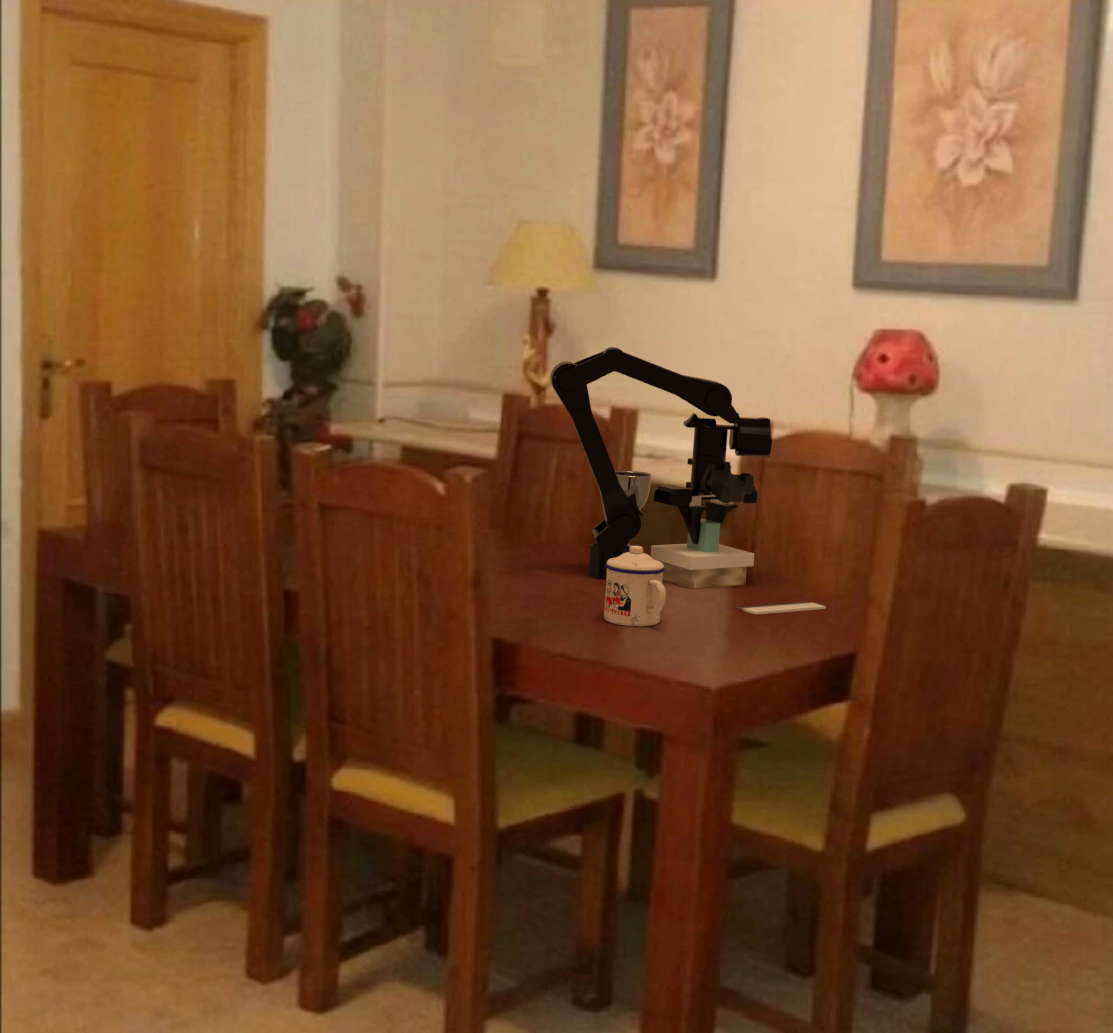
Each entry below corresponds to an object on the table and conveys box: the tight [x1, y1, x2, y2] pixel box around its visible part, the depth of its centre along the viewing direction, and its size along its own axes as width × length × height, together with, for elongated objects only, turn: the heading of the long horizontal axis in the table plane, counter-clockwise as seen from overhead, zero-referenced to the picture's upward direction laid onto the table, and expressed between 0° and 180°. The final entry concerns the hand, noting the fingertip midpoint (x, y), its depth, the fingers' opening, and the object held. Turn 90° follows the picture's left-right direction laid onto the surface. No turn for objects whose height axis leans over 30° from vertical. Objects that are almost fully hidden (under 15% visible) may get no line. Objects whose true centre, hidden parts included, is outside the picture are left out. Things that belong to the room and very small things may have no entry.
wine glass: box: [615, 470, 652, 553], centre depth 317 cm, size 8×8×15 cm
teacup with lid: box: [603, 545, 667, 627], centre depth 251 cm, size 12×9×12 cm
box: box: [657, 560, 748, 589], centre depth 285 cm, size 12×10×5 cm
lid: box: [650, 518, 755, 570], centre depth 284 cm, size 14×12×7 cm
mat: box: [732, 600, 826, 615], centre depth 272 cm, size 15×14×1 cm
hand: (702, 543), depth 284 cm, fingers closed on lid, 3 cm apart
